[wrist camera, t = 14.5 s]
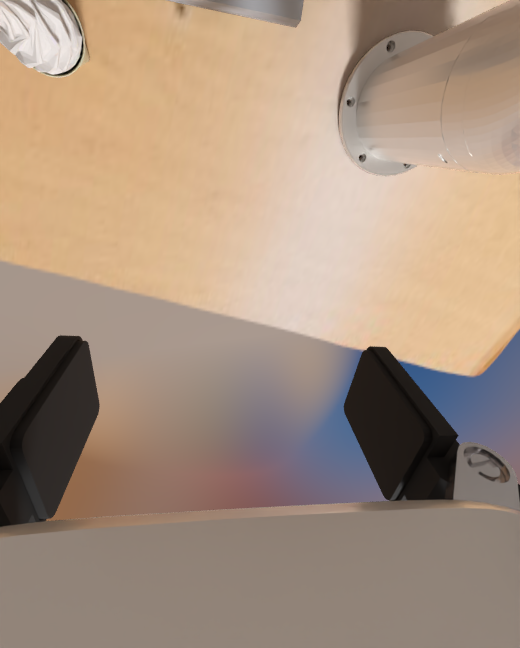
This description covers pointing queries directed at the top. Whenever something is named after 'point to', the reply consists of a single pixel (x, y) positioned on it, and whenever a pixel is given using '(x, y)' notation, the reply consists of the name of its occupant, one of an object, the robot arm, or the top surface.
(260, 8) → the brown block on base
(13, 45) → the ice cream cone
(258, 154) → the top surface
